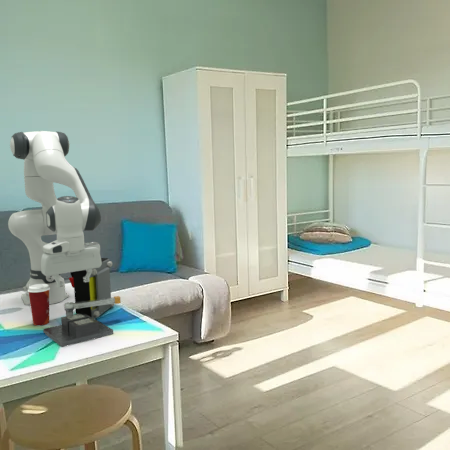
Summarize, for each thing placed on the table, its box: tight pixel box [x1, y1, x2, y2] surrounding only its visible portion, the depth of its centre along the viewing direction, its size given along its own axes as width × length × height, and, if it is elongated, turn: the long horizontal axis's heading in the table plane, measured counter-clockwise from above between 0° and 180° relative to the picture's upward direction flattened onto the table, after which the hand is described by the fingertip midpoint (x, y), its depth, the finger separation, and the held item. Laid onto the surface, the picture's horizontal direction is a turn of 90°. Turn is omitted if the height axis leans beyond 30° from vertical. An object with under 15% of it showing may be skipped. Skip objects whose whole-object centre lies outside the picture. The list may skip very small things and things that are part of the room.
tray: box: [43, 310, 114, 348], centre depth 174 cm, size 17×18×6 cm
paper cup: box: [28, 284, 50, 326], centre depth 186 cm, size 8×8×14 cm
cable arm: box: [63, 295, 122, 312], centre depth 182 cm, size 20×3×2 cm, turn 114°
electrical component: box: [68, 257, 116, 320], centre depth 196 cm, size 18×10×20 cm, turn 168°
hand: (73, 284), depth 174 cm, fingers open, 8 cm apart
